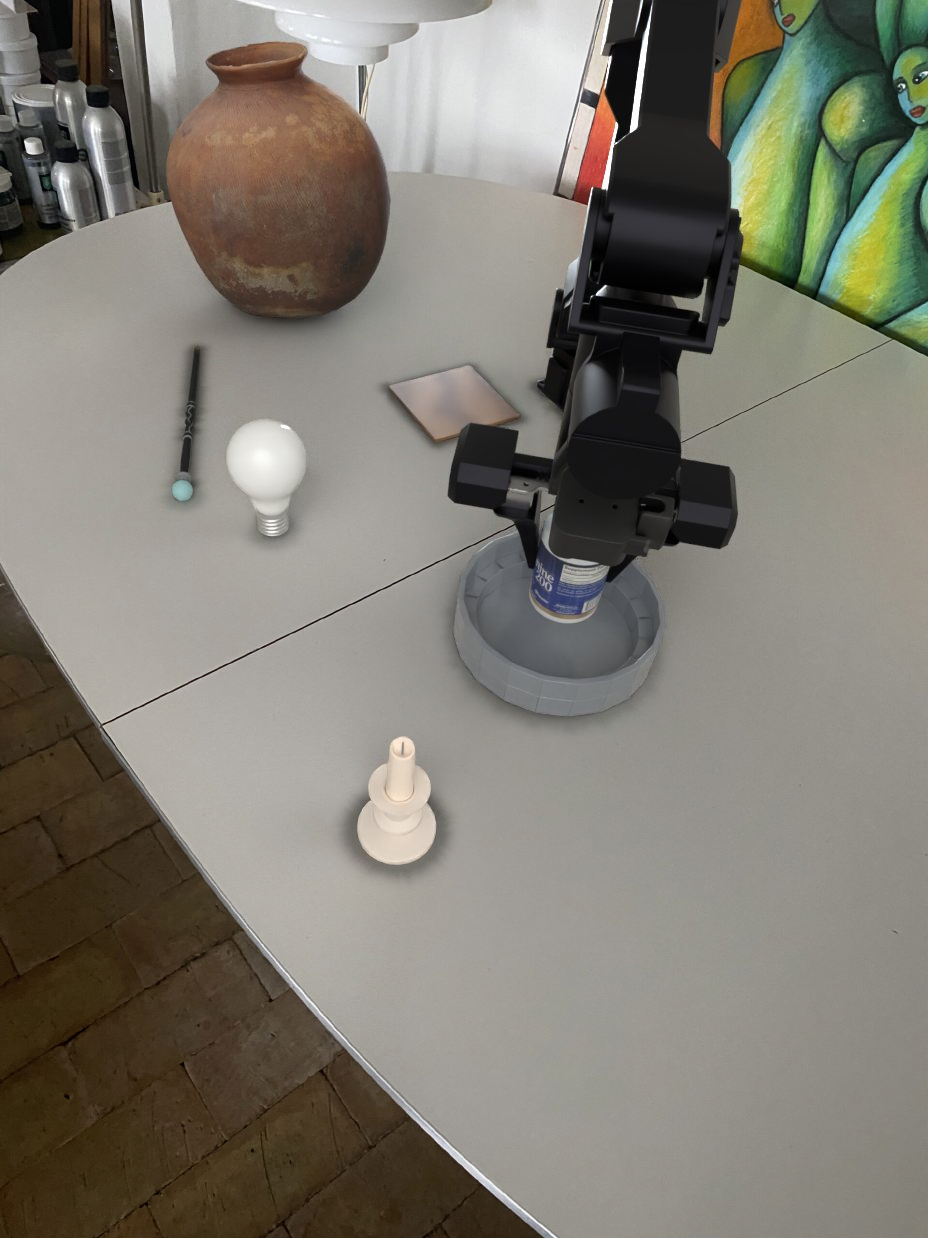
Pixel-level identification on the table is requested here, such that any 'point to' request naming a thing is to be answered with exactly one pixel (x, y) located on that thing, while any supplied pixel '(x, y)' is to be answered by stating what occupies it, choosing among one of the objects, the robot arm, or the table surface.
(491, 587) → the basin
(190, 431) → the magic wand
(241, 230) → the pottery
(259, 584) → the table surface
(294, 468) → the lightbulb
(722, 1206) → the table surface
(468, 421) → the coaster
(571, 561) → the pill bottle
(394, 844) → the candle
